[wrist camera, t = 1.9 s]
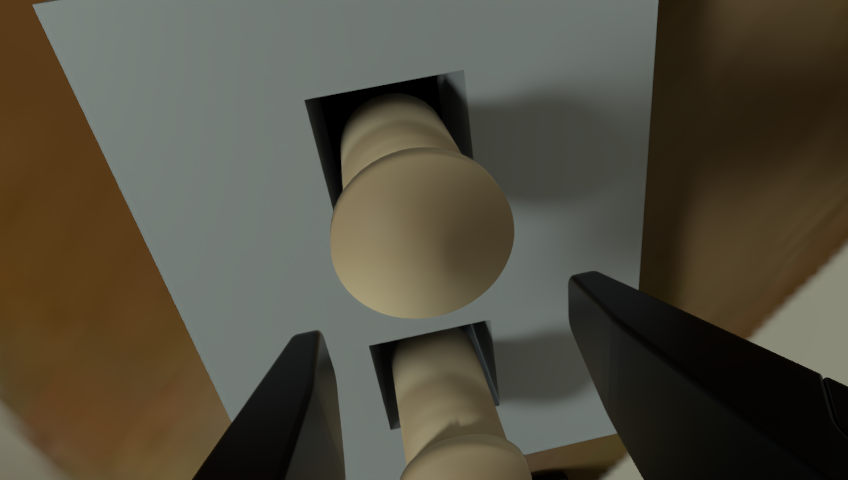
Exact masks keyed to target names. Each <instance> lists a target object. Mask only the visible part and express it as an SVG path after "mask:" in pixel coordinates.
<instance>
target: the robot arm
mask: <svg viewBox="0 0 848 480" xmlns="http://www.w3.org/2000/svg"><path fill="white" fill-rule="evenodd" d="M568 318H569V324H570V328H571V331H572V334H573V336H574V338H575V341H576V343H577V345H578V348H579V350H580V352H581V355H582V357H583V359H584V362H585V364H586V367H587V369H588V371H589V374H590V376H591V378H592V381H593V383H594V385H595V388H596V390H597V392H598V395H599V397H600V399H601V402H602V404H603V406H604V408H605V411H606V413H607V415H608V417H609V419H610V421H611V423H612V424H613V426H614V428H615V430H616V432H617V433H618V435H619V437H620V439H621V440H622V442H623V444H624V446H625V447H626V449H627V451H628V453H629V455H630V456H631V458H632V460H633V461H634V463H635V465H636V467H637V469H638V470H639V472H640V474H641V476H642V477H643V479H644V480H848V386H846V385H843V384H841V383H839V382H837V381H835V380H832V379H830V378H824V379H823V377H822V376H821V374H819V373H817V372H815V371H813V370H811V369H808V368H806V367H804V366H802V365H800V364H798V363H795V362H793V361H791V360H789V359H787V358H785V357H782V356H780V355H778V354H776V353H774V352H771V351H769V350H767V349H765V348H763V347H761V346H758V345H756V344H754V343H752V342H750V341H748V340H745V339H743V338H741V337H739V336H737V335H735V334H732V333H730V332H728V331H726V330H724V329H722V328H719V327H717V326H715V325H713V324H711V323H709V322H706V321H704V320H702V319H700V318H698V317H696V316H693V315H691V314H689V313H687V312H685V311H683V310H680V309H678V308H676V307H674V306H672V305H670V304H667V303H665V302H663V301H661V300H659V299H657V298H654V297H652V296H650V295H648V294H646V293H644V292H641V291H639V290H637V289H635V288H633V287H631V286H628V285H626V284H624V283H622V282H620V281H618V280H615V279H613V278H611V277H609V276H607V275H605V274H602V273H600V272H598V271H589V272H584V273H580V274H575V275H572V276H571V277H570V278H569V281H568ZM192 480H346V475H345V460H344V450H343V440H342V430H341V420H340V410H339V400H338V390H337V381H336V375H335V371H334V368H333V364H332V361H331V358H330V355H329V352H328V348H327V345H326V342H325V339H324V336H323V334H322V333H321V331H319V330H314V331H309V332H304V333H300V334H296V335H294V336H293V337H292V338H291V339H290V341H289V342H288V343H287V345H286V346H285V348H284V349H283V351H282V352H281V353H280V355H279V356H278V358H277V359H276V360H275V362H274V363H273V365H272V366H271V368H270V369H269V370H268V372H267V373H266V375H265V376H264V378H263V379H262V380H261V382H260V383H259V385H258V386H257V388H256V389H255V390H254V392H253V393H252V395H251V396H250V398H249V399H248V400H247V402H246V403H245V405H244V406H243V408H242V409H241V410H240V412H239V413H238V415H237V416H236V417H235V419H234V420H233V422H232V423H231V425H230V426H229V427H228V429H227V430H226V432H225V433H224V435H223V436H222V437H221V439H220V440H219V442H218V443H217V445H216V446H215V447H214V449H213V450H212V452H211V453H210V455H209V456H208V457H207V459H206V460H205V462H204V463H203V465H202V466H201V467H200V469H199V470H198V472H197V473H196V474H195V476H194V477H193V479H192ZM533 480H568V477H567V475H566V474H564V473H558V474H554V475H550V476H545V477H541V478H537V479H533Z"/></svg>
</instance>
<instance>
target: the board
mask: <svg viewBox="0 0 848 480" xmlns="http://www.w3.org/2000/svg"><path fill="white" fill-rule="evenodd" d="M33 7H34V9H35V12H36V14H37V16H38V18H39V20H40V22H41V24H42V26H43V28H44V30H45V33H46V35H47V37H48V39H49V41H50V43H51V45H52V47H53V49H54V51H55V53H56V56H57V58H58V60H59V62H60V64H61V66H62V68H63V70H64V72H65V74H66V76H67V79H68V81H69V83H70V85H71V87H72V89H73V91H74V93H75V95H76V97H77V99H78V102H79V104H80V106H81V108H82V110H83V112H84V114H85V116H86V118H87V120H88V123H89V125H90V127H91V129H92V131H93V133H94V135H95V137H96V139H97V141H98V143H99V146H100V148H101V150H102V152H103V154H104V156H105V158H106V160H107V162H108V164H109V166H110V169H111V171H112V173H113V175H114V177H115V179H116V181H117V183H118V185H119V187H120V189H121V192H122V194H123V196H124V198H125V200H126V202H127V204H128V206H129V208H130V210H131V213H132V215H133V217H134V219H135V221H136V223H137V225H138V227H139V229H140V231H141V233H142V236H143V238H144V240H145V242H146V244H147V246H148V248H149V250H150V252H151V254H152V256H153V259H154V261H155V263H156V265H157V267H158V269H159V271H160V273H161V275H162V277H163V279H164V282H165V284H166V286H167V288H168V290H169V292H170V294H171V296H172V298H173V300H174V303H175V305H176V307H177V309H178V311H179V313H180V315H181V317H182V319H183V321H184V323H185V326H186V328H187V330H188V332H189V334H190V336H191V338H192V340H193V342H194V344H195V346H196V349H197V351H198V353H199V355H200V357H201V359H202V361H203V363H204V365H205V367H206V369H207V372H208V374H209V376H210V378H211V380H212V382H213V384H214V386H215V388H216V390H217V393H218V395H219V397H220V399H221V401H222V403H223V405H224V407H225V409H226V411H227V413H228V416H229V418H230V420H231V422H233V420H234V419H235V417H236V416H237V415H238V413H239V412H240V410H241V409H242V408H243V406H244V405H245V403H246V402H247V400H248V399H249V398H250V396H251V395H252V393H253V392H254V390H255V389H256V388H257V386H258V385H259V383H260V382H261V380H262V379H263V378H264V376H265V375H266V373H267V372H268V370H269V369H270V368H271V366H272V365H273V363H274V362H275V360H276V359H277V358H278V356H279V355H280V353H281V352H282V351H283V349H284V348H285V346H286V345H287V343H288V342H289V341H290V339H291V338H292V337H293V336H294V335H296V334H300V333H304V332H309V331H314V330H319V331H321V333H322V334H323V336H324V339H325V342H326V345H327V348H328V352H329V355H330V358H331V361H332V364H333V368H334V371H335V375H336V381H337V390H338V400H339V410H340V420H341V430H342V440H343V450H344V460H345V475H346V480H400V477H401V475H402V473H403V471H404V469H405V468H406V459H405V453H404V446H403V439H402V432H401V425H400V419H399V412H398V405H397V398H396V392H395V385H394V378H393V371H392V364H391V357H392V353H393V350H394V348H395V346H396V345H397V343H398V342H399V341H400V340H401V339H403V338H407V337H412V336H416V335H421V334H426V333H430V332H435V331H439V330H444V329H449V328H453V327H457V328H459V329H461V330H463V331H464V332H465V333H466V334H467V335H468V336H469V337H470V338H471V340H472V342H473V344H474V347H475V350H476V353H477V356H478V359H479V361H480V364H481V367H482V370H483V373H484V376H485V378H486V381H487V384H488V387H489V390H490V393H491V396H492V398H493V401H494V404H495V407H496V410H497V413H498V416H499V418H500V421H501V424H502V427H503V430H504V433H505V435H506V438H507V440H508V441H510V442H512V443H513V444H515V445H516V446H517V447H518V448H519V449H520V450H521V452H522V453H523V455H526V454H530V453H534V452H538V451H543V450H547V449H551V448H556V447H560V446H564V445H569V444H573V443H577V442H582V441H586V440H590V439H594V438H599V437H603V436H607V435H612V434H616V433H617V432H616V430H615V428H614V426H613V424H612V423H611V421H610V419H609V417H608V415H607V413H606V411H605V408H604V406H603V404H602V402H601V399H600V397H599V395H598V392H597V390H596V388H595V385H594V383H593V381H592V378H591V376H590V374H589V371H588V369H587V367H586V364H585V362H584V359H583V357H582V355H581V352H580V350H579V348H578V345H577V343H576V341H575V338H574V336H573V334H572V331H571V328H570V324H569V318H568V281H569V278H570V277H571V276H572V275H575V274H580V273H584V272H589V271H598V272H600V273H602V274H605V275H607V276H609V277H611V278H613V279H615V280H618V281H620V282H622V283H624V284H626V285H628V286H631V287H633V288H635V289H637V290H639V276H640V262H641V247H642V233H643V218H644V204H645V189H646V174H647V160H648V145H649V131H650V116H651V102H652V87H653V73H654V58H655V44H656V29H657V15H658V0H49V1H45V2H41V3H38V4H34V5H33ZM433 75H436V76H437V84H438V91H439V99H440V106H441V114H442V121H443V123H444V125H445V127H446V128H447V130H448V132H449V134H450V135H451V137H452V139H453V140H454V142H455V144H456V145H457V147H458V149H459V150H460V152H461V154H462V155H465V156H467V157H469V158H470V159H472V160H474V161H475V162H477V163H478V164H479V165H481V166H482V167H483V168H484V169H485V170H486V171H487V172H488V173H489V174H490V175H491V176H492V177H493V179H494V180H495V182H496V183H497V184H498V186H499V187H500V189H501V190H502V192H503V193H504V195H505V197H506V199H507V201H508V203H509V205H510V208H511V211H512V214H513V220H514V242H513V247H512V251H511V254H510V257H509V260H508V262H507V264H506V266H505V268H504V270H503V271H502V273H501V275H500V276H499V277H498V279H497V280H496V281H495V282H494V284H493V285H492V286H491V287H490V288H489V289H488V290H487V291H486V292H485V293H483V294H482V295H481V296H480V297H479V298H477V299H476V300H474V301H473V302H471V303H470V304H468V305H466V306H464V307H462V308H460V309H458V310H456V311H453V312H450V313H448V314H444V315H440V316H437V317H431V318H422V319H407V318H399V317H393V316H389V315H386V314H382V313H380V312H377V311H375V310H373V309H371V308H369V307H367V306H366V305H364V304H362V303H361V302H360V301H358V300H357V299H356V298H355V297H354V296H353V295H352V294H351V293H350V292H349V291H348V290H347V289H346V288H345V286H344V285H343V284H342V282H341V281H340V279H339V277H338V275H337V273H336V271H335V268H334V265H333V262H332V257H331V245H330V227H331V219H332V215H333V211H334V208H335V205H336V203H337V201H338V198H339V197H340V195H341V193H342V192H343V183H342V170H341V171H338V170H337V166H336V162H335V158H334V154H333V150H332V146H331V142H330V138H329V134H328V130H327V126H326V122H325V118H324V114H323V110H322V106H321V102H320V98H319V97H322V96H328V95H333V94H338V93H343V92H349V91H354V90H359V89H365V88H370V87H375V86H381V85H386V84H391V83H396V82H402V81H407V80H412V79H418V78H423V77H428V76H433Z"/></svg>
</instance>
